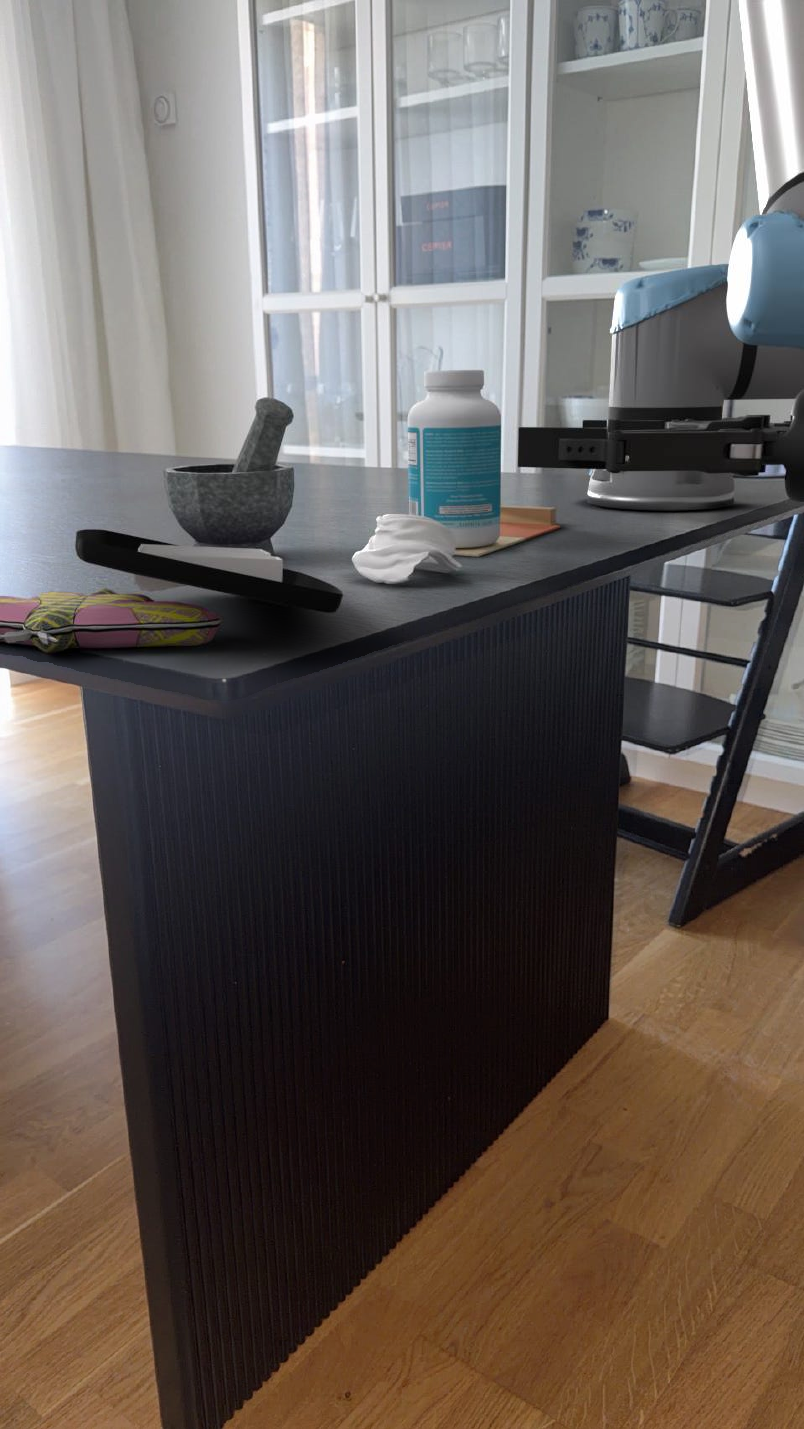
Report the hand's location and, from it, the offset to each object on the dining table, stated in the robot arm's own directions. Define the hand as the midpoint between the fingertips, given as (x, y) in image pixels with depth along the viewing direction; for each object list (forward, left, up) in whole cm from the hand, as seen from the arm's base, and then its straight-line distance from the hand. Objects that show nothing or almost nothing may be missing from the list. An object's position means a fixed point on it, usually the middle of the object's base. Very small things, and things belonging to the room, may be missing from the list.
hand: (553, 441), depth 81 cm
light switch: (+37, -13, -3) cm, 39 cm away
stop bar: (-15, -8, -8) cm, 19 cm away
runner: (-5, -8, -8) cm, 13 cm away
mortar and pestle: (+13, -20, -9) cm, 26 cm away
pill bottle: (0, -8, -8) cm, 12 cm away
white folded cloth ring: (+14, -5, -9) cm, 17 cm away
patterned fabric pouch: (+34, -14, -7) cm, 37 cm away
